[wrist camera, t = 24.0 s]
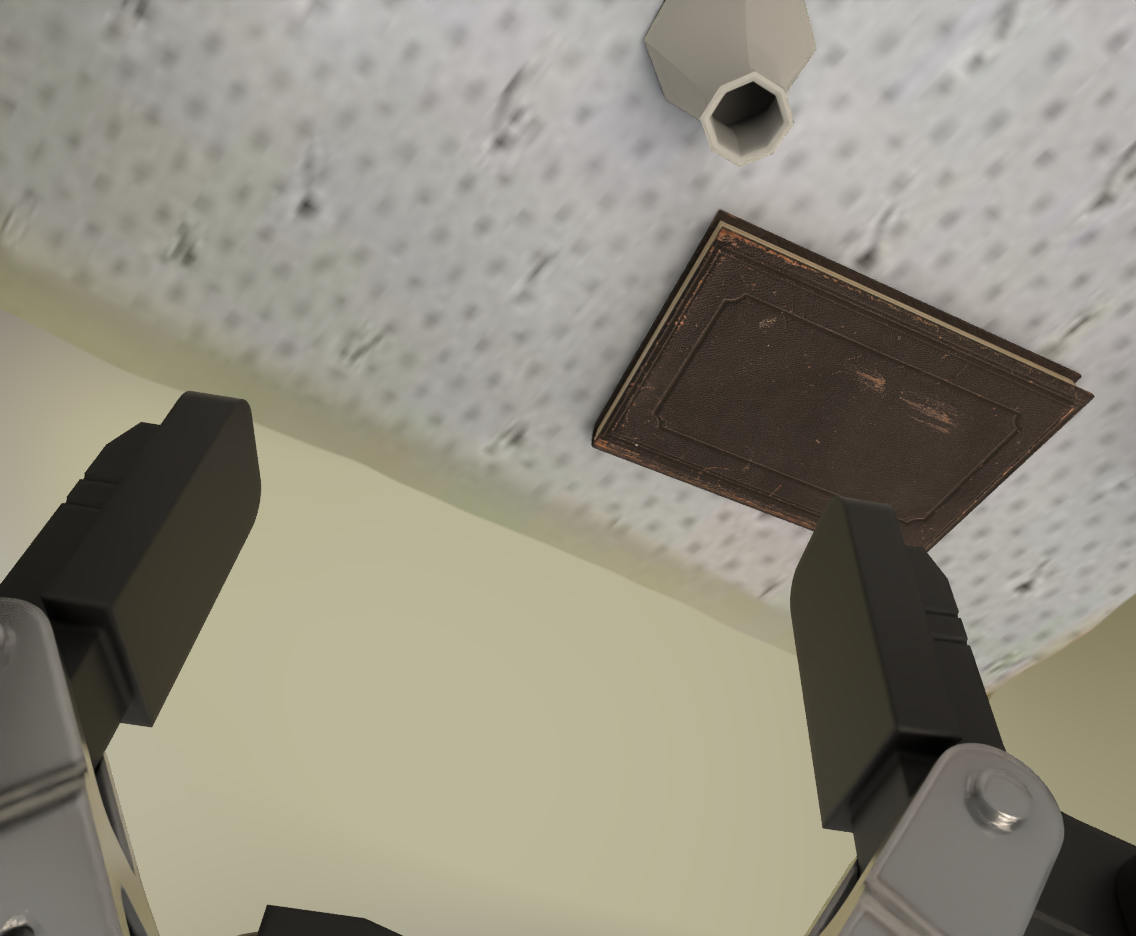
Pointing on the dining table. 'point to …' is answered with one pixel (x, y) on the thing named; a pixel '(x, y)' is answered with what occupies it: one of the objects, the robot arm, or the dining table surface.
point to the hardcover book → (827, 391)
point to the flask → (732, 68)
